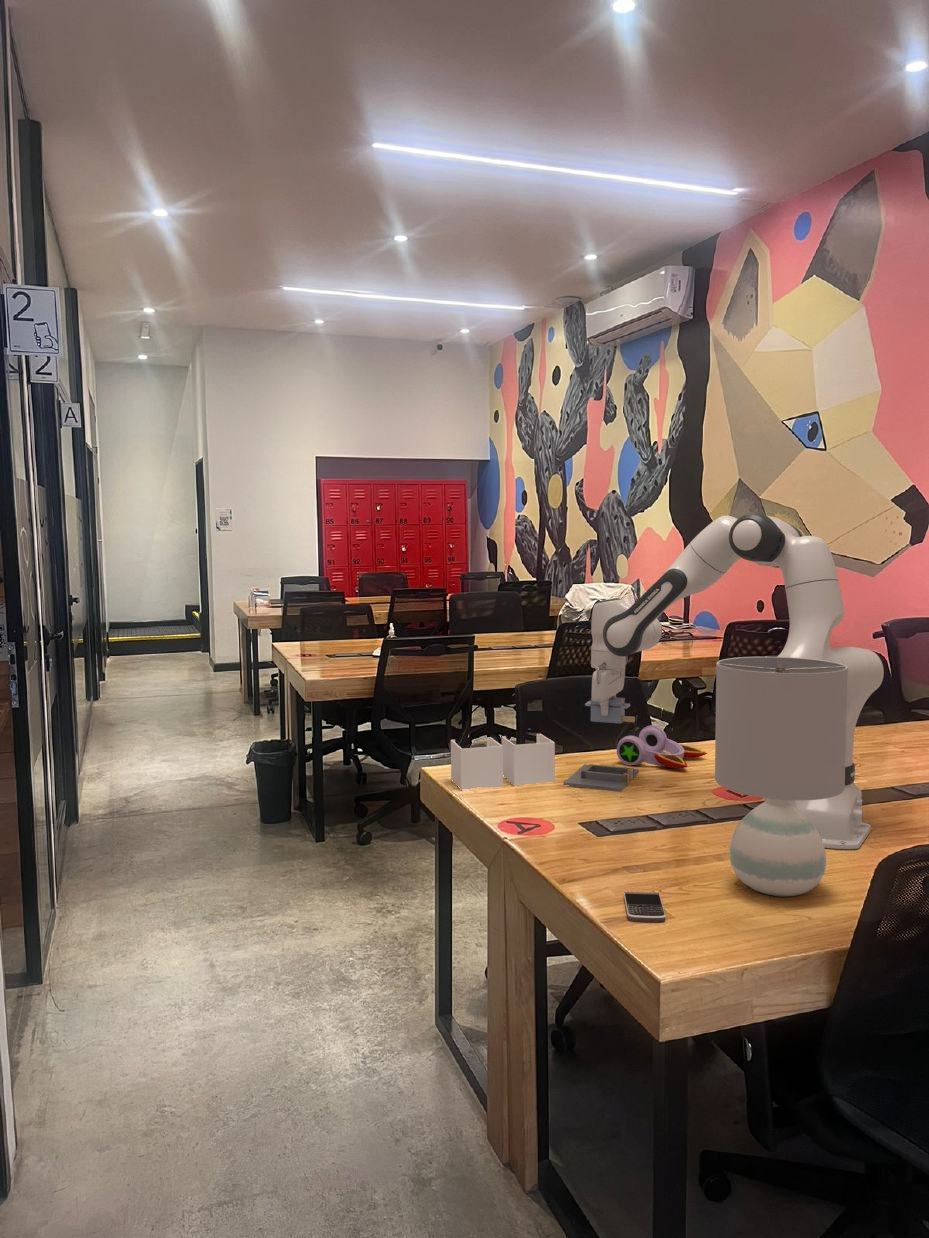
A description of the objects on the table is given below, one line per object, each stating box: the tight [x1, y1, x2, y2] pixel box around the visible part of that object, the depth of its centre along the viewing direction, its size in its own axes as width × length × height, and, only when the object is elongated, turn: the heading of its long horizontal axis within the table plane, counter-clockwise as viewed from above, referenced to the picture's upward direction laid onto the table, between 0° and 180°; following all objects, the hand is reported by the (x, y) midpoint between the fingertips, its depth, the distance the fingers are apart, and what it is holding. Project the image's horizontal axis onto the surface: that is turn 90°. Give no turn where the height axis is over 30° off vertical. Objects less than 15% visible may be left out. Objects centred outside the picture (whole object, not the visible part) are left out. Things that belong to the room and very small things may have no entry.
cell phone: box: [623, 891, 666, 923], centre depth 149 cm, size 6×11×1 cm, turn 174°
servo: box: [584, 696, 636, 724], centre depth 229 cm, size 4×12×7 cm, turn 66°
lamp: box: [714, 656, 848, 897], centre depth 155 cm, size 22×22×40 cm
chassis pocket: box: [563, 763, 640, 792], centre depth 231 cm, size 20×15×2 cm
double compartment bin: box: [450, 733, 556, 791], centre depth 229 cm, size 25×11×11 cm, turn 105°
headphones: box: [616, 724, 708, 769], centre depth 248 cm, size 20×10×20 cm
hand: (607, 713), depth 229 cm, fingers closed on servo, 4 cm apart
